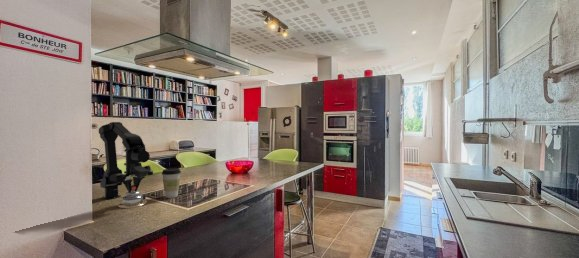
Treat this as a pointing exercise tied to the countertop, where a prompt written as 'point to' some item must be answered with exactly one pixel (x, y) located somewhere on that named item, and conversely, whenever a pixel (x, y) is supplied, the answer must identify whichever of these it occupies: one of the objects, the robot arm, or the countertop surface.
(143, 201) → the press pot
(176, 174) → the coffee cup
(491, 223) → the countertop surface
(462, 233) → the countertop surface
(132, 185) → the plunger
